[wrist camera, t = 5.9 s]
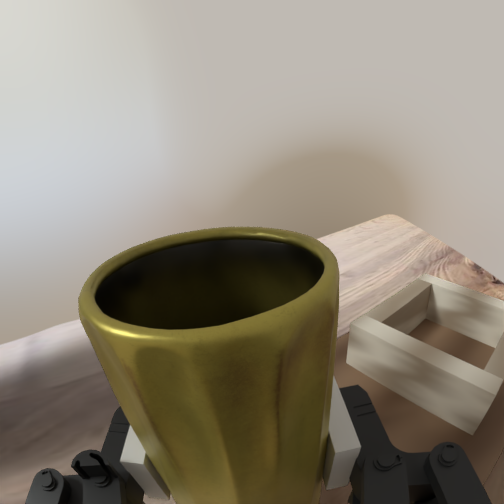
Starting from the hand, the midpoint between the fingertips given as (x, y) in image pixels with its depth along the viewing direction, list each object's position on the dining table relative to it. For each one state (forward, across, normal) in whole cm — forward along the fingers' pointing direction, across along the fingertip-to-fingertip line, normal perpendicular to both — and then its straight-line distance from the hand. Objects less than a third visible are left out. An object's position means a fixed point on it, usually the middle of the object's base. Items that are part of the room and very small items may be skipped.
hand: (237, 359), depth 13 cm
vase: (-5, 0, -8) cm, 9 cm away
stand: (+3, +15, -8) cm, 17 cm away
